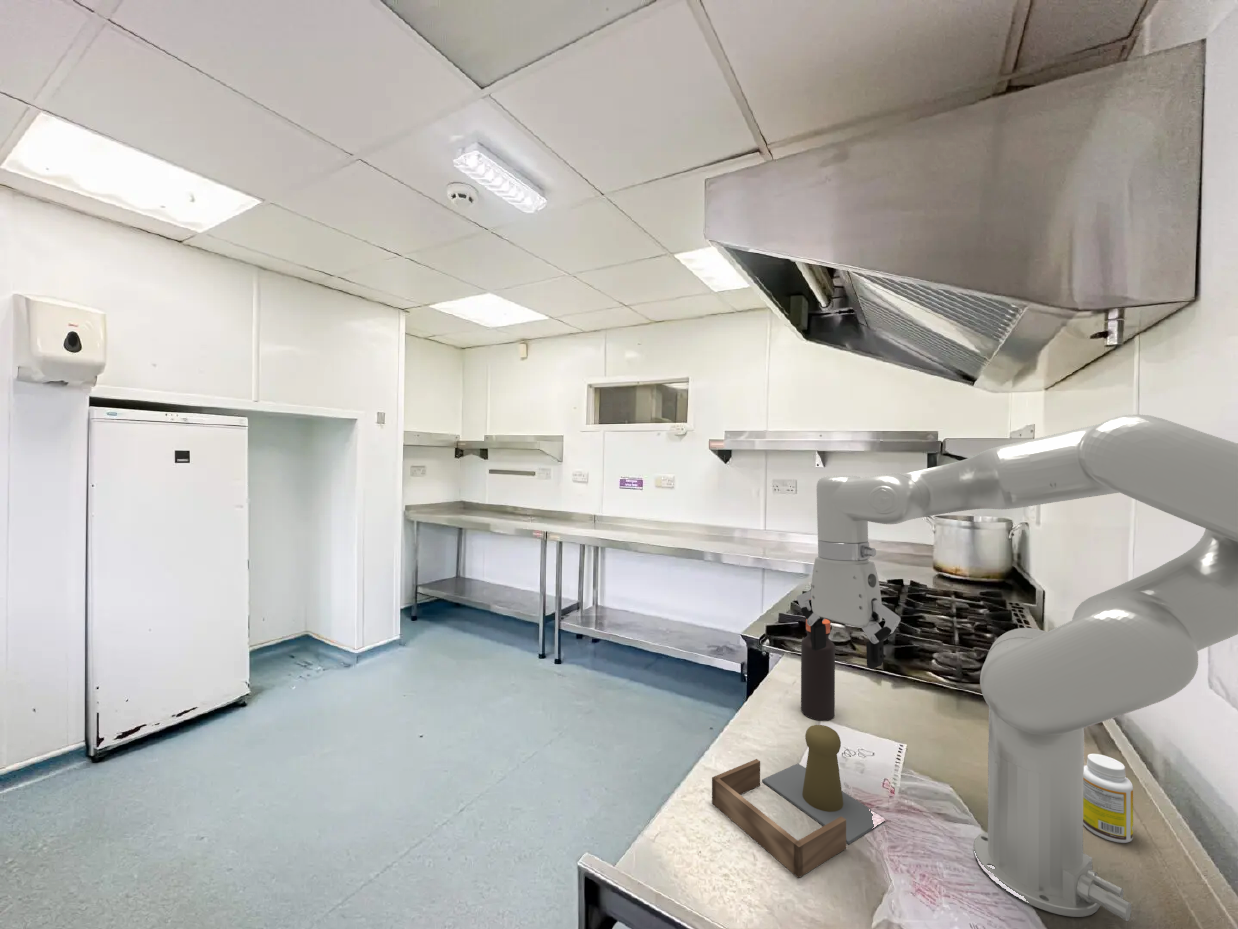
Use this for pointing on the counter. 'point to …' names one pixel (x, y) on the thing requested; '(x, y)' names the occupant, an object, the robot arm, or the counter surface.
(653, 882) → the counter surface
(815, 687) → the vinegar
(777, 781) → the charcoal mat
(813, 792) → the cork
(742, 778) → the wooden u-shaped frame
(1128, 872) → the counter surface
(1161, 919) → the counter surface
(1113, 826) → the supplement bottle
